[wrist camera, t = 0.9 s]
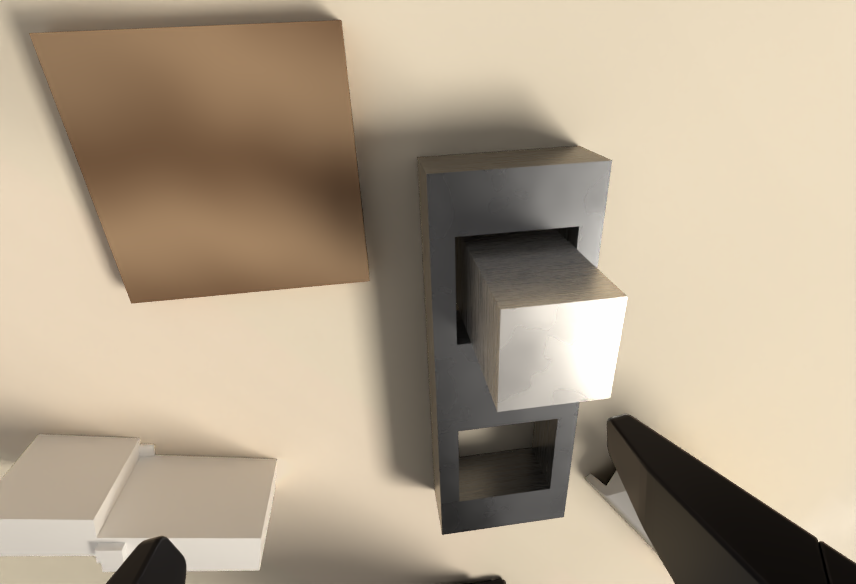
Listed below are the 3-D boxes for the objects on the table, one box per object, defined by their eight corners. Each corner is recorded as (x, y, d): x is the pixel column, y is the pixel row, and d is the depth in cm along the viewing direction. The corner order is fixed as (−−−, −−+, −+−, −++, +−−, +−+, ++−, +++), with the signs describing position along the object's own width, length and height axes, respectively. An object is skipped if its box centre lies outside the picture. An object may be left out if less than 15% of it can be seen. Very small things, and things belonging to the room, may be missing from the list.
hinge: (581, 475, 30) (732, 603, 21) (629, 419, 31) (796, 520, 22) (683, 580, 37) (828, 708, 28) (720, 533, 38) (874, 644, 29)
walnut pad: (369, 271, 22) (369, 281, 21) (140, 292, 21) (131, 303, 20) (341, 21, 17) (340, 20, 16) (46, 33, 16) (29, 33, 15)
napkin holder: (337, 457, 27) (332, 549, 22) (210, 557, 30) (179, 661, 25) (91, 294, 21) (8, 371, 16) (-44, 437, 24) (-154, 543, 19)
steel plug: (534, 293, 24) (610, 398, 16) (455, 300, 23) (497, 411, 16) (540, 215, 22) (627, 296, 15) (454, 222, 21) (500, 309, 14)
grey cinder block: (545, 475, 30) (563, 517, 27) (434, 490, 29) (442, 534, 26) (579, 145, 20) (611, 160, 18) (417, 157, 20) (426, 174, 17)
